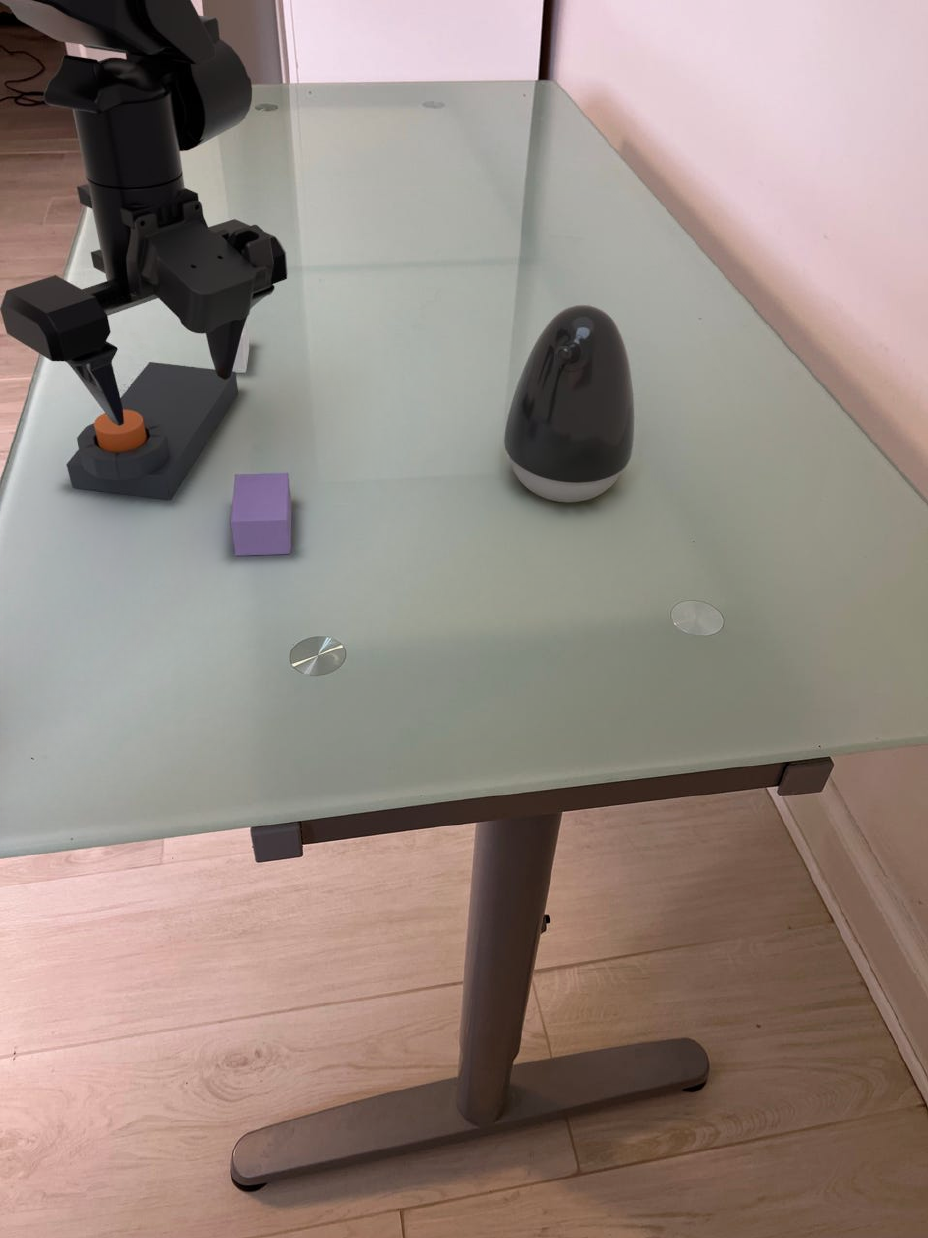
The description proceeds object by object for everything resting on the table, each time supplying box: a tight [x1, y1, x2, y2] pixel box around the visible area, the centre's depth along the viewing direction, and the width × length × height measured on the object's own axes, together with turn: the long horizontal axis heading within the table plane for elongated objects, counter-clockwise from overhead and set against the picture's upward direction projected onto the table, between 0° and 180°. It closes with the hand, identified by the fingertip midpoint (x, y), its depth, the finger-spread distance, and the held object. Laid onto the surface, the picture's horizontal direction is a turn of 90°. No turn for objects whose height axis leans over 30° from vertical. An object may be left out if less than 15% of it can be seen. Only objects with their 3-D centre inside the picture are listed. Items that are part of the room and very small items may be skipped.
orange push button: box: [93, 410, 147, 452], centre depth 76 cm, size 4×4×2 cm
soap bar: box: [230, 472, 292, 557], centre depth 74 cm, size 6×4×3 cm, turn 7°
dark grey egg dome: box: [503, 304, 635, 503], centre depth 76 cm, size 10×10×15 cm
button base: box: [66, 361, 239, 501], centre depth 82 cm, size 18×8×4 cm, turn 172°
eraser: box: [232, 319, 250, 374], centre depth 93 cm, size 1×5×4 cm, turn 5°
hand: (172, 399), depth 71 cm, fingers open, 9 cm apart
